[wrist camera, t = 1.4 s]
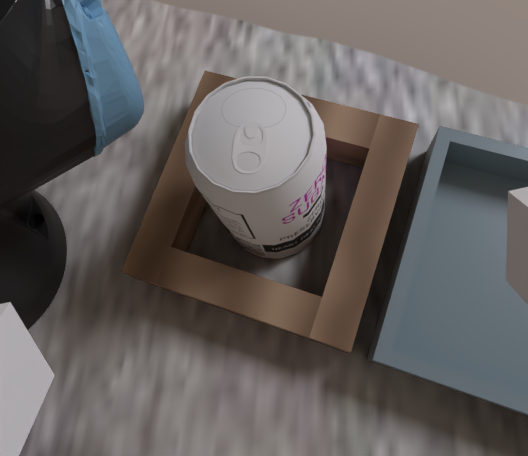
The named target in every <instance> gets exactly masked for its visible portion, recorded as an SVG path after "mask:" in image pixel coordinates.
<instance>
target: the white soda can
mask: <svg viewBox="0 0 528 456" xmlns="http://www.w3.org/2000/svg"><path fill="white" fill-rule="evenodd" d="M326 151H327V146H326V138H325V131H324V124H323V122H322V120H321V119H320V117H319V115H318V113H317V112H316V110H315V108H314V106H313V105H312V104H311V103H310V102H309V101H308V100H307V99H305V98H304V97H303V96H302V95H300V94H299V93H298V92H297V91H295V90H294V89H293V88H292V87H290V86H289V85H288V84H287V83H284V82H281V81H278V80H275V79H272V78H269V77H252V76H245V77H242V78H239V79H236V80H232V81H229V82H226V83H224V84H222V85H221V86H220V87H218V88H217V89H215V90H214V91H212V92H211V93H209V94H208V95H207V96H206V97H205V99H204V100H203V101H202V102H201V104H200V105H199V106H198V108H197V109H196V110H195V112H194V115H193V118H192V121H191V124H190V127H189V130H188V134H187V137H186V140H185V156H186V166H187V168H188V171H189V173H190V175H191V177H192V179H193V182H194V184H195V186H196V187H197V189H198V190H199V191H200V193H201V194H202V196H203V197H204V198H205V200H206V201H207V202H208V204H209V205H210V207H211V208H212V209H213V211H214V212H215V213H216V215H217V216H218V218H219V219H220V220H221V222H222V223H223V225H224V226H225V227H226V229H227V230H228V231H229V233H230V234H231V236H232V237H233V238H234V240H235V241H237V242H238V243H239V244H240V245H241V246H242V247H243V248H244V249H245V250H246V251H248V252H250V253H252V254H255V255H257V256H259V257H262V258H276V259H280V258H283V257H287V256H290V255H294V254H297V253H298V252H300V251H301V250H302V249H304V248H305V247H306V246H308V245H309V244H311V242H312V241H313V239H314V238H315V236H316V235H317V233H318V232H319V231H320V229H321V225H322V221H323V217H324V212H325V182H326Z"/></svg>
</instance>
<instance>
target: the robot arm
mask: <svg viewBox="0 0 528 456" xmlns="http://www.w3.org/2000/svg"><path fill="white" fill-rule="evenodd" d="M143 111H144V99H143V94H142V90H141V88H140V85H139V82H138V80H137V77H136V75H135V72H134V70H133V67H132V65H131V63H130V60H129V58H128V56H127V54H126V51H125V49H124V47H123V45H122V43H121V41H120V38H119V36H118V34H117V32H116V30H115V28H114V26H113V24H112V22H111V20H110V18H109V16H108V14H107V12H106V11H105V9H104V8H103V7H102V5H101V0H0V456H19V454H20V452H21V450H22V447H23V445H24V443H25V441H26V438H27V436H28V434H29V432H30V430H31V427H32V425H33V423H34V421H35V418H36V416H37V414H38V412H39V409H40V407H41V405H42V403H43V401H44V398H45V396H46V394H47V392H48V389H49V387H50V385H51V383H52V380H53V378H54V376H55V375H54V374H53V372H52V370H51V369H50V367H49V365H48V364H47V362H46V360H45V359H44V357H43V355H42V354H41V352H40V350H39V349H38V347H37V345H36V344H35V342H34V340H33V339H32V337H31V335H30V334H29V332H28V330H27V329H28V328H29V327H31V326H32V325H33V324H34V323H35V322H36V321H37V320H38V319H39V318H40V317H41V315H42V314H43V313H44V312H45V310H46V309H47V308H48V306H49V305H50V303H51V302H52V300H53V298H54V296H55V295H56V293H57V290H58V288H59V286H60V283H61V280H62V277H63V274H64V270H65V264H66V254H67V246H66V237H65V232H64V228H63V225H62V222H61V220H60V218H59V216H58V214H57V212H56V210H55V209H54V208H53V206H52V205H51V204H50V203H49V202H48V200H47V199H46V198H44V197H43V196H42V195H41V194H39V193H38V192H36V191H35V190H34V189H36V188H38V187H40V186H42V185H43V184H45V183H47V182H49V181H50V180H52V179H54V178H56V177H58V176H59V175H61V174H63V173H65V172H66V171H68V170H70V169H72V168H74V167H75V166H77V165H79V164H81V163H82V162H84V161H86V160H88V159H90V158H91V157H95V156H97V155H99V154H101V152H102V151H103V148H105V147H106V146H108V145H109V144H111V143H112V142H114V141H115V140H116V139H118V138H119V137H121V136H122V135H124V134H125V133H127V132H128V131H130V130H131V129H133V128H134V127H135V126H136V125H137V124H138V122H139V120H140V119H141V117H142V114H143ZM506 281H507V282H508V283H509V284H510V285H511V287H512V288H513V289H514V290H515V291H516V292H517V293H518V295H519V296H520V297H521V298H522V299H523V300H524V301H525V303H526V304H527V305H528V187H525V188H520V189H516V190H511V191H508V212H507V253H506Z"/></svg>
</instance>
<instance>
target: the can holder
mask: <svg viewBox="0 0 528 456" xmlns="http://www.w3.org/2000/svg"><path fill="white" fill-rule="evenodd" d="M232 80H236V78H232V77H228V76H224V75H220V74H216V73H212V72H208V71H205V72H204V74H203V76H202V79H201V81H200V84H199V86H198V88H197V91H196V93H195V96H194V98H193V100H192V103H191V105H190V108H189V110H188V112H187V115H186V117H185V119H184V122H183V124H182V127H181V129H180V131H179V134H178V136H177V139H176V141H175V143H174V146H173V148H172V151H171V153H170V155H169V158H168V160H167V163H166V165H165V167H164V170H163V172H162V175H161V177H160V179H159V182H158V184H157V186H156V189H155V191H154V194H153V196H152V198H151V201H150V203H149V206H148V208H147V210H146V213H145V215H144V218H143V220H142V222H141V225H140V227H139V230H138V232H137V234H136V237H135V239H134V241H133V244H132V246H131V249H130V251H129V253H128V256H127V258H126V261H125V263H124V265H123V268H122V270H121V272H123V273H125V274H127V275H130V276H132V277H134V278H137V279H139V280H142V281H144V282H147V283H150V284H153V285H156V286H159V287H162V288H164V289H167V290H170V291H173V292H176V293H179V294H181V295H184V296H187V297H190V298H193V299H196V300H199V301H201V302H204V303H207V304H210V305H213V306H216V307H218V308H221V309H224V310H227V311H230V312H233V313H236V314H238V315H241V316H244V317H247V318H250V319H253V320H255V321H258V322H261V323H264V324H267V325H270V326H272V327H275V328H278V329H281V330H284V331H287V332H290V333H292V334H295V335H298V336H301V337H304V338H307V339H309V340H312V341H315V342H318V343H321V344H324V345H327V346H329V347H332V348H335V349H338V350H341V351H344V352H346V353H350V352H351V350H352V347H353V343H354V340H355V337H356V333H357V330H358V326H359V323H360V320H361V316H362V313H363V310H364V306H365V303H366V300H367V296H368V293H369V289H370V286H371V283H372V279H373V276H374V273H375V269H376V266H377V263H378V259H379V256H380V252H381V249H382V246H383V242H384V239H385V236H386V232H387V229H388V226H389V222H390V219H391V215H392V212H393V209H394V205H395V202H396V199H397V195H398V192H399V189H400V185H401V182H402V178H403V175H404V172H405V168H406V165H407V162H408V158H409V155H410V152H411V148H412V145H413V142H414V138H415V135H416V131H417V128H418V125H419V124H416V123H412V122H408V121H404V120H400V119H396V118H392V117H388V116H384V115H380V114H376V113H372V112H368V111H364V110H360V109H356V108H352V107H348V106H344V105H340V104H336V103H332V102H328V101H324V100H320V99H316V98H312V97H308V96H304V95H302V96H303V97H304V98H305V99H307V100H308V101H309V102H310V103H311V104H312V105H313V106H314V108H315V110H316V112H317V113H318V115H319V117H320V119H321V120H322V122H323V124H324V131H325V138H326V146H327V151H326V158H329V159H332V160H336V161H340V162H343V163H347V164H351V165H354V166H358V167H362V168H363V170H362V174H361V177H360V180H359V183H358V186H357V189H356V192H355V196H354V199H353V202H352V205H351V208H350V211H349V214H348V218H347V221H346V224H345V227H344V230H343V233H342V236H341V240H340V243H339V246H338V249H337V252H336V255H335V258H334V261H333V265H332V268H331V271H330V274H329V277H328V280H327V283H326V287H325V290H324V293H323V296H322V297H321V296H318V295H315V294H311V293H308V292H305V291H302V290H299V289H296V288H293V287H290V286H287V285H284V284H281V283H278V282H275V281H272V280H269V279H266V278H263V277H260V276H257V275H254V274H251V273H248V272H245V271H242V270H239V269H236V268H233V267H230V266H227V265H224V264H221V263H218V262H215V261H212V260H209V259H206V258H203V257H200V256H197V255H194V254H191V253H188V249H189V246H190V244H191V241H192V239H193V236H194V234H195V231H196V229H197V226H198V223H199V221H200V218H201V216H202V213H203V211H204V208H205V205H206V203H207V201H206V200H205V198H204V197H203V196H202V194H201V193H200V191H199V190H198V189H197V187H196V186H195V184H194V182H193V179H192V177H191V175H190V173H189V171H188V168H187V166H186V156H185V140H186V137H187V134H188V130H189V127H190V124H191V121H192V118H193V115H194V112H195V110H196V109H197V108H198V106H199V105H200V104H201V102H202V101H203V100H204V99H205V97H206V96H207V95H208V94H209V93H211V92H212V91H214V90H215V89H217V88H218V87H220V86H221V85H222V84H224V83H226V82H229V81H232Z"/></svg>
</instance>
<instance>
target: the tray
mask: <svg viewBox="0 0 528 456" xmlns="http://www.w3.org/2000/svg"><path fill="white" fill-rule="evenodd" d="M525 187H528V148H526V147H522V146H518V145H514V144H510V143H506V142H502V141H498V140H494V139H490V138H486V137H482V136H478V135H474V134H470V133H466V132H462V131H458V130H454V129H450V128H446V127H442V126H440V127H439V129H438V131H437V133H436V134H435V136H434V138H433V140H432V142H431V144H430V146H429V148H428V150H427V153H426V156H425V159H424V163H423V166H422V170H421V173H420V177H419V180H418V184H417V187H416V191H415V194H414V198H413V201H412V204H411V208H410V211H409V215H408V218H407V222H406V225H405V229H404V232H403V236H402V239H401V242H400V246H399V249H398V253H397V256H396V260H395V263H394V267H393V270H392V274H391V277H390V281H389V284H388V287H387V291H386V294H385V298H384V301H383V305H382V308H381V312H380V315H379V319H378V322H377V325H376V329H375V332H374V336H373V339H372V343H371V346H370V350H369V353H368V357H367V360H369V361H372V362H375V363H378V364H381V365H383V366H386V367H389V368H392V369H395V370H398V371H401V372H403V373H406V374H409V375H412V376H415V377H418V378H420V379H423V380H426V381H429V382H432V383H435V384H438V385H440V386H443V387H446V388H449V389H452V390H455V391H457V392H460V393H463V394H466V395H469V396H472V397H475V398H477V399H480V400H483V401H486V402H489V403H492V404H494V405H497V406H500V407H503V408H506V409H509V410H512V411H514V412H517V413H520V414H523V415H526V416H528V305H527V304H526V303H525V301H524V300H523V299H522V298H521V297H520V296H519V295H518V293H517V292H516V291H515V290H514V289H513V288H512V287H511V285H510V284H509V283H508V282H507V281H506V253H507V212H508V191H511V190H516V189H520V188H525Z"/></svg>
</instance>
